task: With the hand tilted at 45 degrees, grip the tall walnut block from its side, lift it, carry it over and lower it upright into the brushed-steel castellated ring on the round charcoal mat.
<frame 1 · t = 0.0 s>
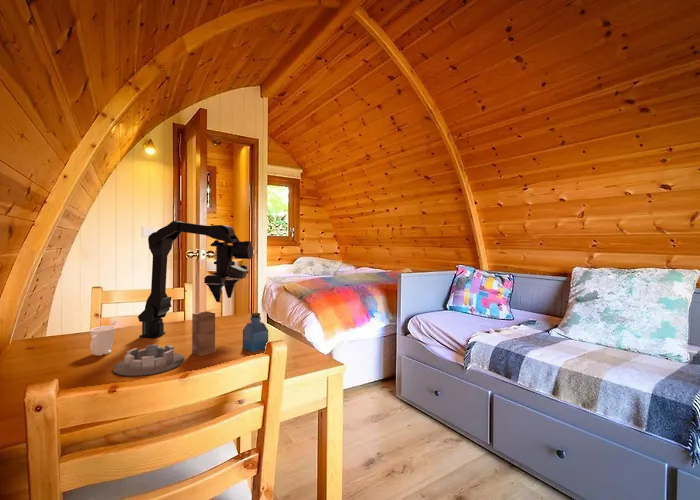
hand: (224, 299, 126), 15 cm above the table, tool pointing down, fingers open, 9 cm apart
walnut block: (203, 352, 110), on the table
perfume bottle: (255, 348, 116), on the table
castellated ring: (150, 364, 99), on the table
cup: (100, 355, 107), on the table
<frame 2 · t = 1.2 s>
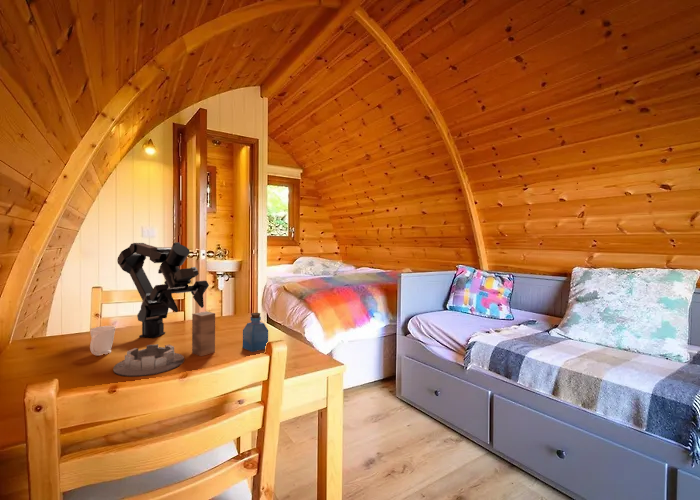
hand: (190, 309, 114), 13 cm above the table, tool tilted 45°, fingers open, 9 cm apart
nothing on the table moved.
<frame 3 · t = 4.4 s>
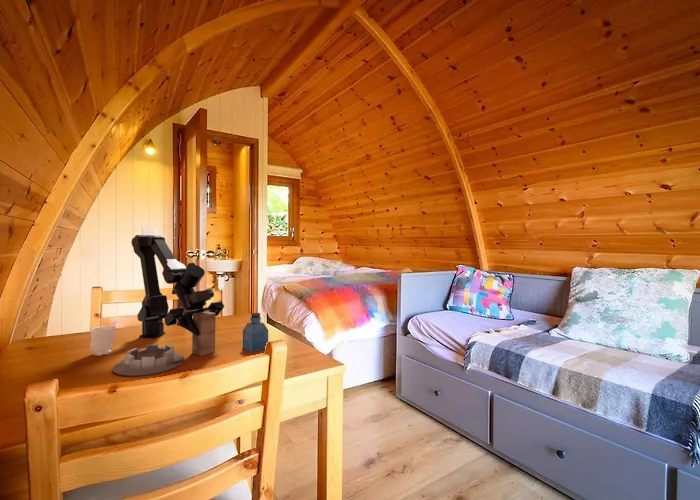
hand: (206, 333, 110), 7 cm above the table, tool tilted 45°, fingers closed on walnut block, 5 cm apart
walnut block: (203, 352, 110), on the table, touching gripper
everything else where it was.
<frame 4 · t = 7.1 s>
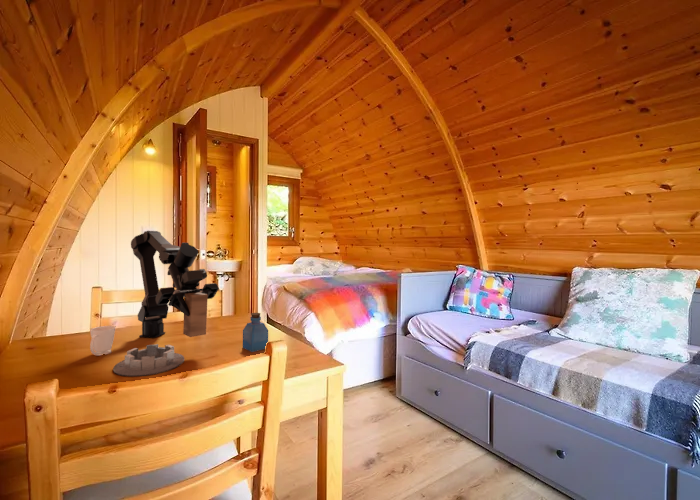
hand: (197, 314, 107), 13 cm above the table, tool tilted 45°, fingers closed on walnut block, 5 cm apart
walnut block: (194, 334, 108), point 7 cm above the table, touching gripper
everything else where it was.
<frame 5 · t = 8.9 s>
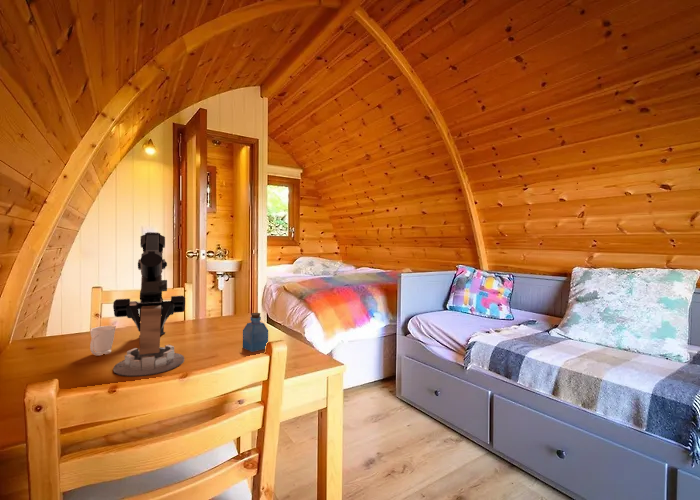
hand: (150, 329, 98), 11 cm above the table, tool tilted 45°, fingers closed on walnut block, 5 cm apart
walnut block: (149, 350, 99), point 4 cm above the table, touching gripper
everything else where it was.
when the fingers open (8 cm above the table, at t = 10.3 s): walnut block stays where it is, resting on castellated ring.
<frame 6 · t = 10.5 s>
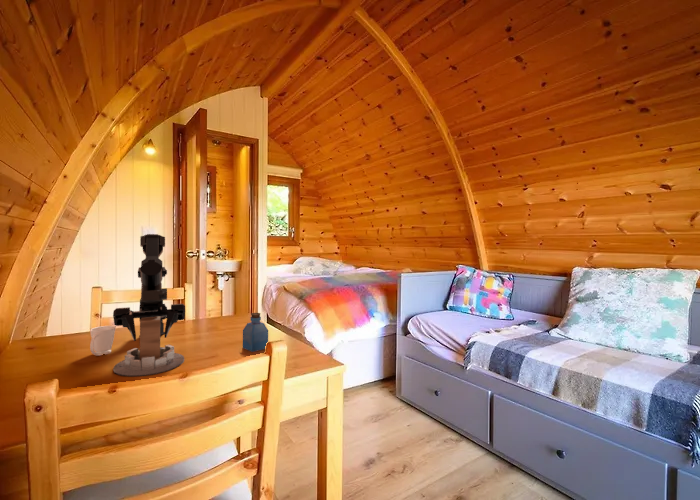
hand: (150, 338, 98), 8 cm above the table, tool tilted 45°, fingers open, 7 cm apart
walnut block: (150, 362, 99), point 1 cm above the table, touching castellated ring
everything else where it was.
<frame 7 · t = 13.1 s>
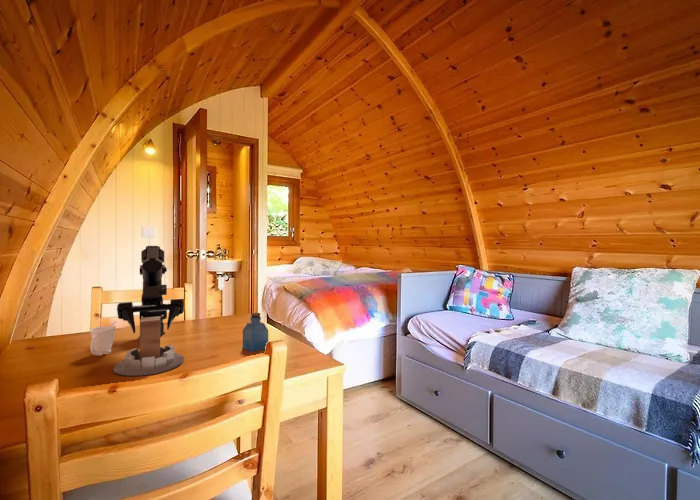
hand: (151, 330, 106), 8 cm above the table, tool tilted 45°, fingers open, 9 cm apart
nothing on the table moved.
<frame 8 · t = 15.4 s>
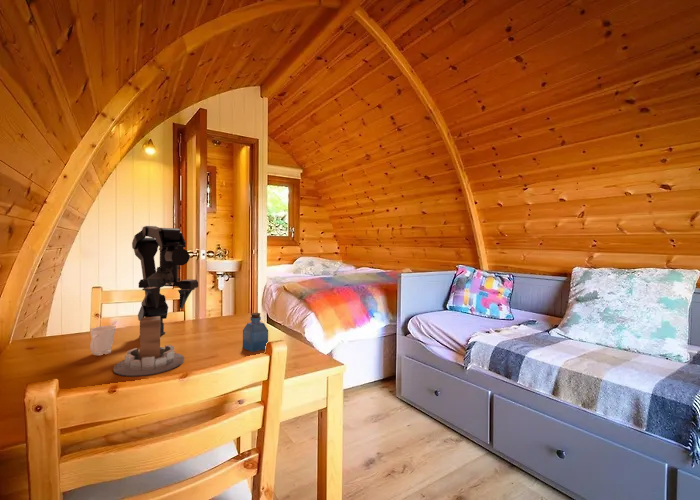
hand: (168, 308, 117), 13 cm above the table, tool pointing down, fingers open, 9 cm apart
nothing on the table moved.
at the end: walnut block 0.1 cm off-centre on the castellated ring, point 0.6 cm above the castellated ring's base; walnut block tilted 0°; the gripper is holding nothing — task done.
